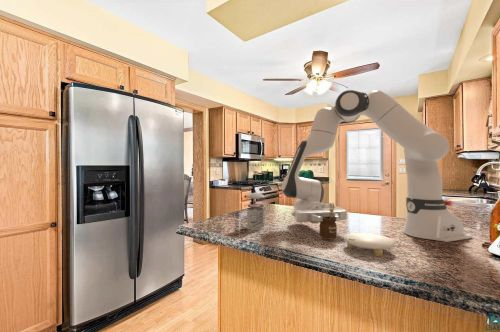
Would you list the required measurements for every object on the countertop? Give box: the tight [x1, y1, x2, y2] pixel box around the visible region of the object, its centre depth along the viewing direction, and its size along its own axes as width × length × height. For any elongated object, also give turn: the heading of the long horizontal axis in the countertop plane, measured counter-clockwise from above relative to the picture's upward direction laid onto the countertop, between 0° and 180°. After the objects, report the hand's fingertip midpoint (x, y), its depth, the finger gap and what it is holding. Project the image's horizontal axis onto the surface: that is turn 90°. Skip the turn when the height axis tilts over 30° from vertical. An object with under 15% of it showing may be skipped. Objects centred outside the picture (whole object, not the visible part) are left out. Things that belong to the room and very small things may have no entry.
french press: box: [245, 170, 271, 231], centre depth 107 cm, size 10×12×25 cm
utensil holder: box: [319, 202, 338, 240], centre depth 89 cm, size 6×6×12 cm
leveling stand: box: [344, 232, 394, 258], centre depth 78 cm, size 14×14×4 cm
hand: (329, 219), depth 88 cm, fingers closed on utensil holder, 5 cm apart
